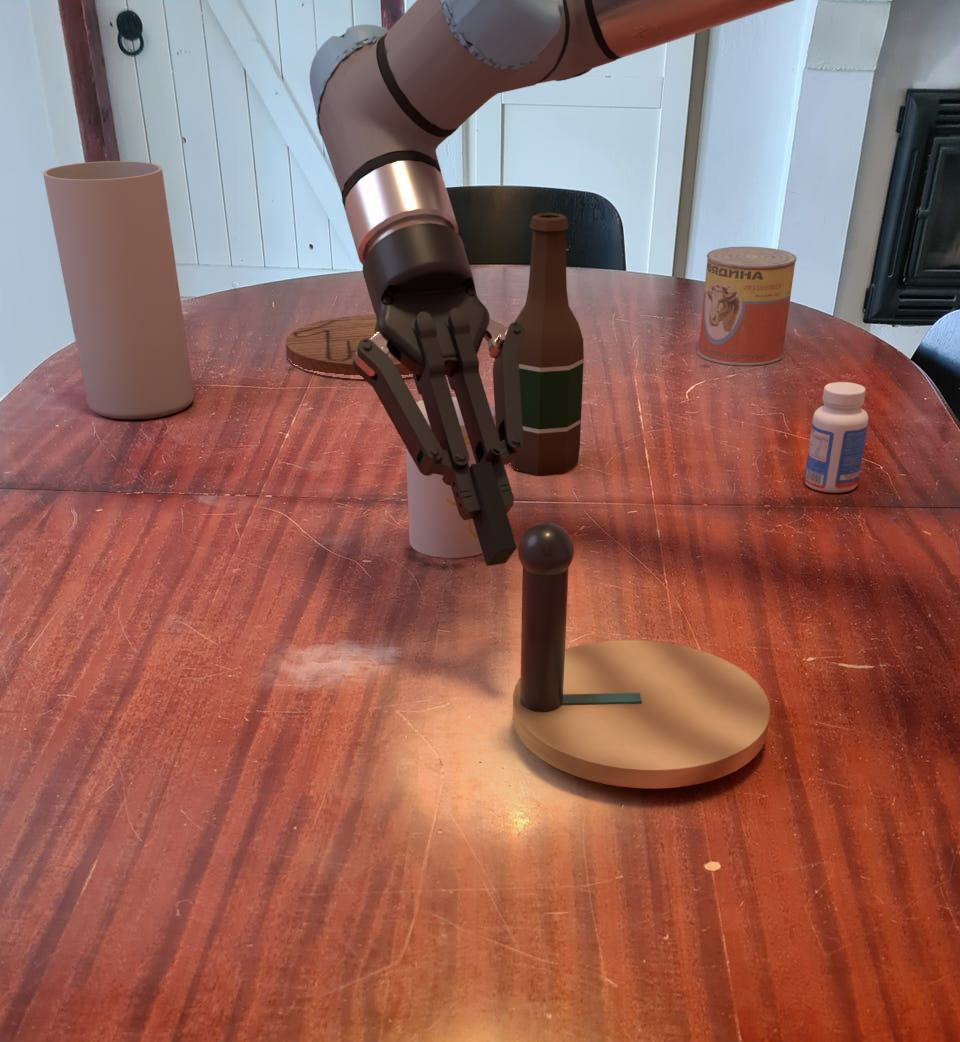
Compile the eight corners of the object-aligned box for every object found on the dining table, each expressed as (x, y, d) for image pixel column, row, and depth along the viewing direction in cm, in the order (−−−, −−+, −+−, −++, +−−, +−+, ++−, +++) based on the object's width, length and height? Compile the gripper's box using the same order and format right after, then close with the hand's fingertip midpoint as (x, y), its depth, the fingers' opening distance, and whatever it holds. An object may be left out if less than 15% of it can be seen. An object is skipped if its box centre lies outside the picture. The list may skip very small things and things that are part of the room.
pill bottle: (856, 477, 129) (874, 381, 123) (857, 496, 124) (875, 397, 118) (803, 473, 130) (818, 377, 124) (802, 492, 125) (817, 394, 119)
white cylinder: (468, 564, 112) (467, 431, 104) (392, 547, 115) (386, 417, 108) (511, 533, 117) (512, 405, 110) (437, 517, 120) (434, 391, 113)
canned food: (680, 353, 165) (689, 255, 158) (733, 337, 171) (744, 242, 164) (747, 371, 159) (759, 270, 151) (800, 354, 165) (814, 256, 157)
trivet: (298, 387, 154) (297, 371, 153) (277, 334, 173) (275, 320, 172) (492, 372, 158) (492, 357, 157) (450, 323, 178) (450, 309, 177)
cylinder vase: (171, 383, 155) (137, 157, 140) (211, 409, 147) (179, 172, 132) (74, 400, 150) (27, 167, 135) (110, 429, 142) (65, 184, 126)
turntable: (658, 636, 98) (675, 455, 89) (822, 738, 85) (860, 539, 77) (465, 698, 90) (462, 506, 81) (613, 819, 78) (629, 609, 69)
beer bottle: (582, 453, 135) (594, 208, 120) (574, 478, 129) (585, 224, 114) (512, 449, 136) (515, 206, 121) (501, 474, 130) (502, 221, 115)
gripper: (479, 274, 95) (566, 562, 93) (315, 291, 90) (403, 592, 88) (508, 210, 87) (603, 520, 85) (332, 224, 83) (428, 551, 81)
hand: (501, 556), depth 87 cm, fingers closed
